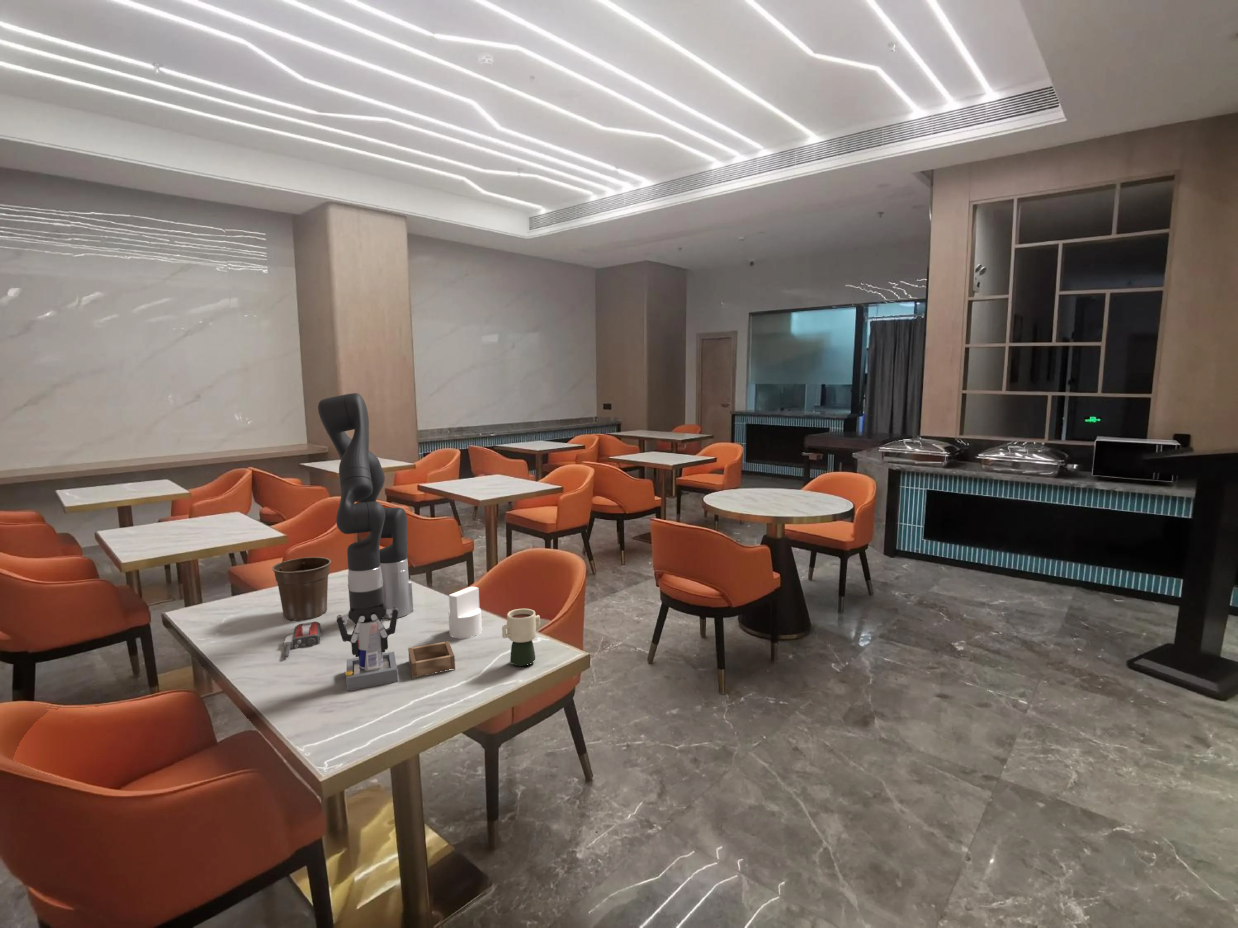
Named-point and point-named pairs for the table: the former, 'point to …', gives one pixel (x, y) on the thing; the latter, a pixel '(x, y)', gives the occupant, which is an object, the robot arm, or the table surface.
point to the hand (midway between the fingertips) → (370, 653)
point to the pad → (358, 671)
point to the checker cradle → (371, 674)
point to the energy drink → (369, 647)
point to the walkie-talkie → (303, 636)
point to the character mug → (521, 635)
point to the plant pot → (303, 587)
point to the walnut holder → (431, 658)
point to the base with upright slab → (465, 613)
